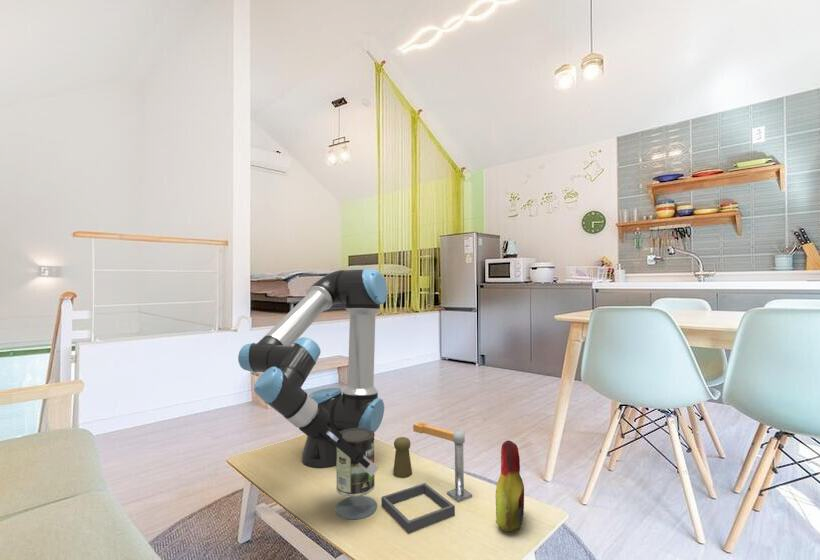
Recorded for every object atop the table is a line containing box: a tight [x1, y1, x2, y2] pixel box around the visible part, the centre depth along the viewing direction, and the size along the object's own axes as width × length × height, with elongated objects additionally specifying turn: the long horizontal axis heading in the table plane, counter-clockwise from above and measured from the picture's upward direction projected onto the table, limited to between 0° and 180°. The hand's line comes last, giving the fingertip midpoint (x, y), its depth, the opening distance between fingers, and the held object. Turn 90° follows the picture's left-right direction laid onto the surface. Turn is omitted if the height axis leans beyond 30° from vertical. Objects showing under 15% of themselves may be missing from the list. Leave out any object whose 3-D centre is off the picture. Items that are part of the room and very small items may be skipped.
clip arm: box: [412, 421, 466, 444], centre depth 118 cm, size 3×17×3 cm, turn 51°
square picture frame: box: [381, 482, 456, 535], centre depth 106 cm, size 14×14×2 cm
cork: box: [392, 436, 413, 479], centre depth 127 cm, size 6×6×11 cm
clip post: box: [446, 443, 473, 503], centre depth 114 cm, size 5×5×15 cm
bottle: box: [495, 440, 525, 532], centre depth 101 cm, size 12×6×20 cm, turn 149°
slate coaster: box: [335, 495, 378, 521], centre depth 108 cm, size 11×11×1 cm
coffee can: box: [335, 428, 376, 497], centre depth 108 cm, size 10×10×14 cm
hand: (365, 463), depth 110 cm, fingers closed on coffee can, 10 cm apart
